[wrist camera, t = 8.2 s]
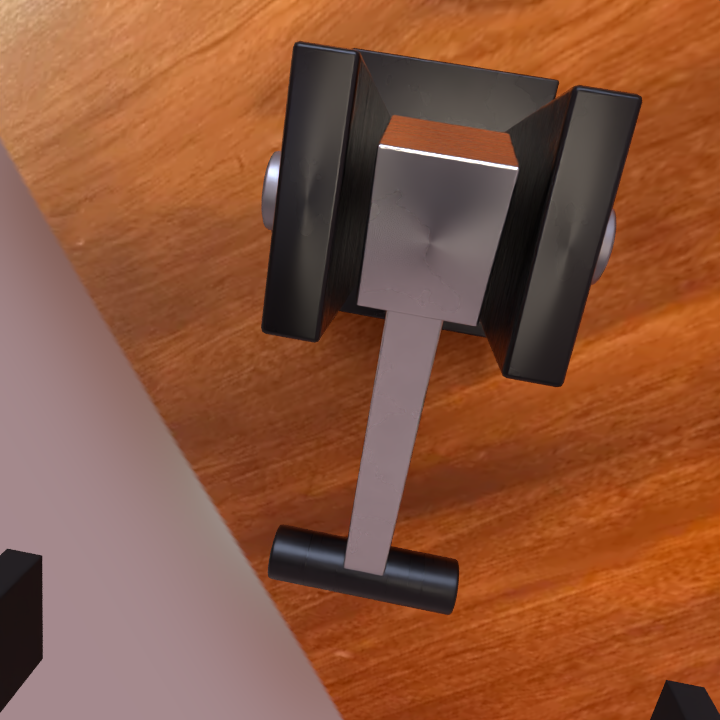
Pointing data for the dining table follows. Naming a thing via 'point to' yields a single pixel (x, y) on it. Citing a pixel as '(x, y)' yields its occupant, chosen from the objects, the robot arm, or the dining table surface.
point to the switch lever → (410, 344)
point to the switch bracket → (526, 215)
